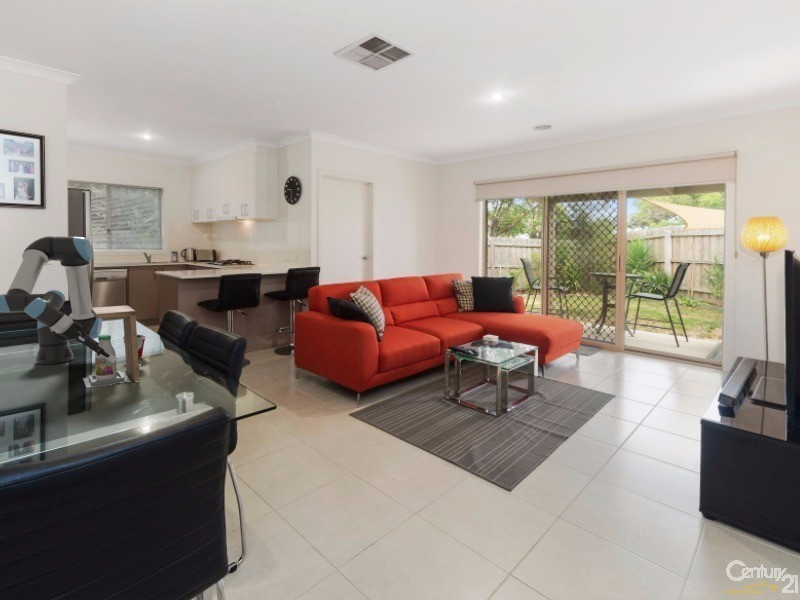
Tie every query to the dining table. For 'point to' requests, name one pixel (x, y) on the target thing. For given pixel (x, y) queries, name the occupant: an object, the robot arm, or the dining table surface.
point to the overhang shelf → (129, 334)
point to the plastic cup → (141, 347)
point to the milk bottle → (105, 360)
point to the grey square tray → (93, 383)
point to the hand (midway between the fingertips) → (113, 357)
